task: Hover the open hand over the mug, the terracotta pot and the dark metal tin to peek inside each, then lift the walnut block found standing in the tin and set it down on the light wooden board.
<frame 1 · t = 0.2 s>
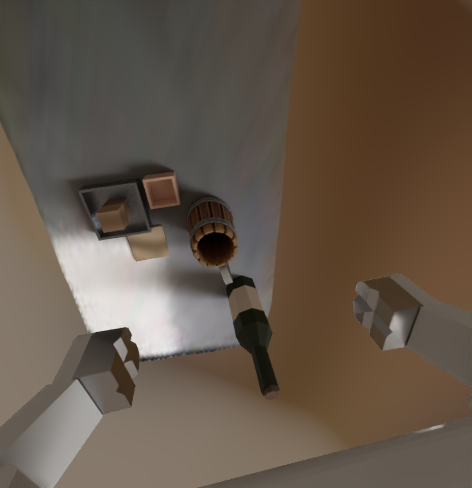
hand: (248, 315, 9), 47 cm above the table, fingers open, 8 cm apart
walnut block: (119, 208, 53), resting on tin
light wooden board: (148, 242, 58), on the table
terracotta pot: (163, 187, 53), on the table
tin: (120, 207, 53), on the table
wine bottle: (240, 287, 70), on the table
mug: (212, 226, 59), on the table
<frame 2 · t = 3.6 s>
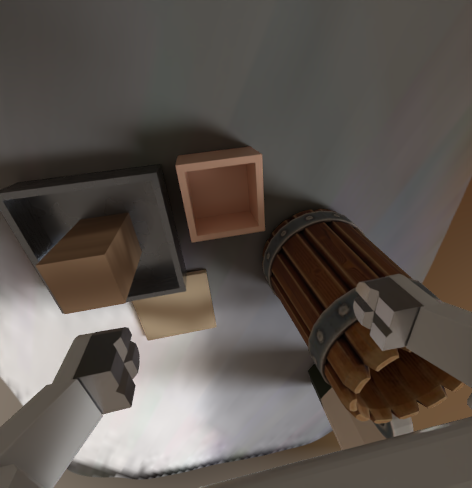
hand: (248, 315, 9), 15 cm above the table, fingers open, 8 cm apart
walnut block: (112, 236, 22), resting on tin
light wooden board: (175, 304, 27), on the table
terracotta pot: (218, 186, 22), on the table
tin: (114, 234, 22), on the table
wine bottle: (332, 367, 39), on the table
mug: (308, 268, 28), on the table
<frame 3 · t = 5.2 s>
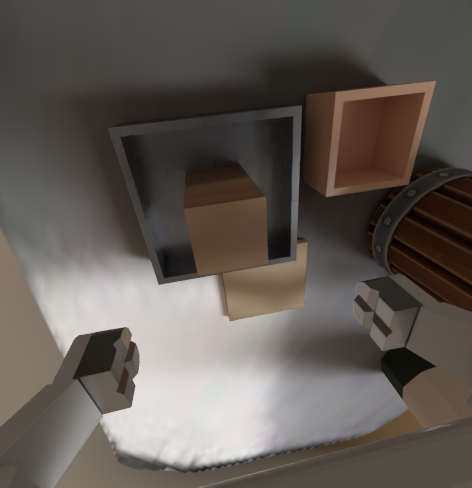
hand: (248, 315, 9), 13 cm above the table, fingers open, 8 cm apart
walnut block: (217, 195, 19), resting on tin
light wooden board: (264, 280, 24), on the table
terracotta pot: (342, 136, 19), on the table
tin: (216, 193, 19), on the table
wine bottle: (405, 354, 36), on the table
mug: (410, 240, 25), on the table
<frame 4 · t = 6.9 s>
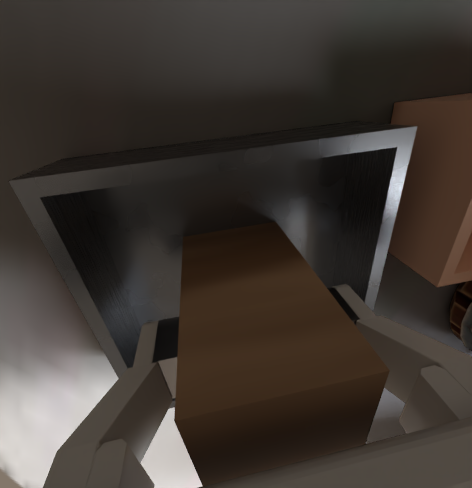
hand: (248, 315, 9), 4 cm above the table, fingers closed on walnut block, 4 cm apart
walnut block: (235, 267, 11), point 1 cm above the table, touching gripper, tin
terracotta pot: (440, 169, 11), on the table
tin: (233, 261, 12), on the table
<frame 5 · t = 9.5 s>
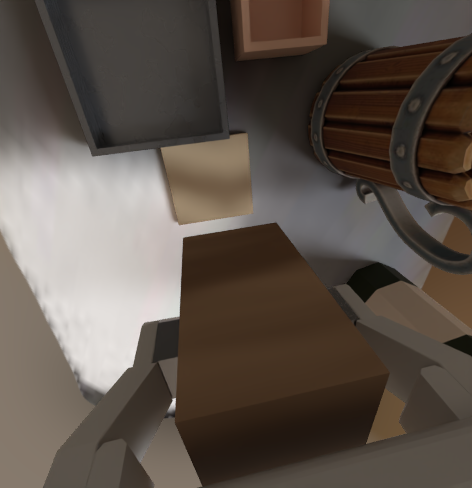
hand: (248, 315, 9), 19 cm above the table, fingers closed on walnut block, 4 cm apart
walnut block: (235, 268, 11), point 16 cm above the table, touching gripper
light wooden board: (210, 180, 25), on the table
terracotta pot: (268, 10, 19), on the table
tin: (149, 69, 20), on the table
wine bottle: (368, 285, 36), on the table
mug: (355, 144, 26), on the table
when the fingers open (6 cm above the table, at t = 12.1 s): walnut block drops 2 cm, resting on light wooden board.
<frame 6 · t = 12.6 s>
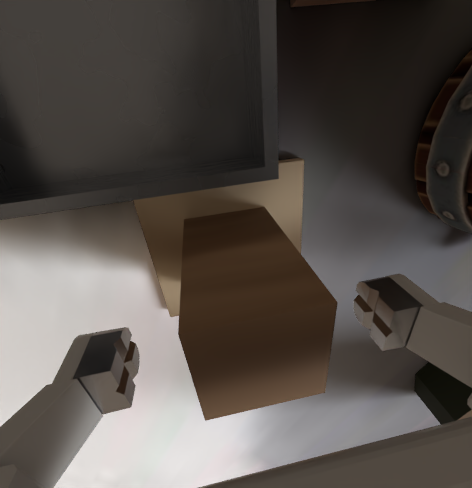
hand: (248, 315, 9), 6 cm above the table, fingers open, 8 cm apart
walnut block: (229, 247, 13), point 1 cm above the table, touching light wooden board
light wooden board: (227, 242, 14), on the table
tin: (96, 22, 9), on the table
wine bottle: (449, 367, 25), on the table
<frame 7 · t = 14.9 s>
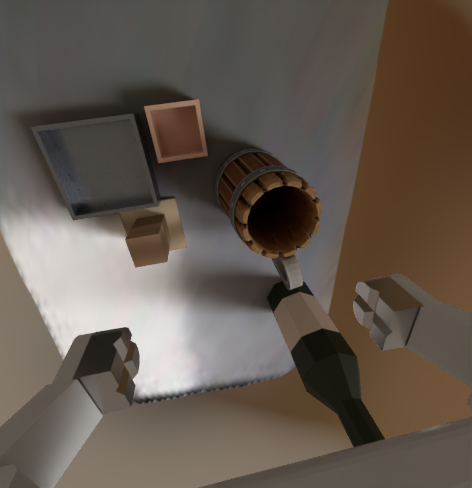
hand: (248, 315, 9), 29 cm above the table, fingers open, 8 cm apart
walnut block: (154, 228, 37), point 1 cm above the table, touching light wooden board
light wooden board: (154, 227, 37), on the table
terracotta pot: (179, 131, 32), on the table
tin: (108, 166, 33), on the table
wine bottle: (287, 295, 48), on the table
mug: (253, 200, 38), on the table
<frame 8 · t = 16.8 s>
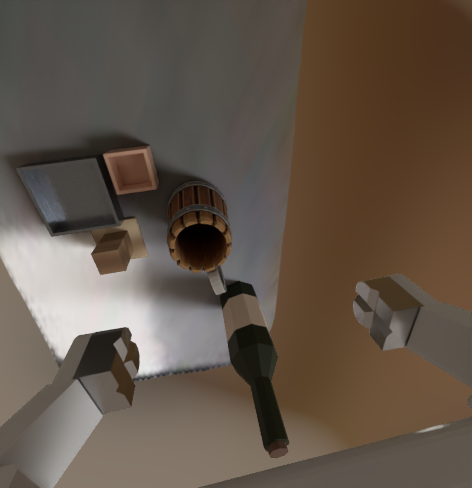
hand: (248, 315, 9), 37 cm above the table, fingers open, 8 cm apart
walnut block: (119, 241, 45), point 1 cm above the table, touching light wooden board
light wooden board: (120, 240, 46), on the table
terracotta pot: (136, 166, 40), on the table
tin: (79, 193, 41), on the table
wine bottle: (238, 295, 57), on the table
mug: (202, 219, 47), on the table
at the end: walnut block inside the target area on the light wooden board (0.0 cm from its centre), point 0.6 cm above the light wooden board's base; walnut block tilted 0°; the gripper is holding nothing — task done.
